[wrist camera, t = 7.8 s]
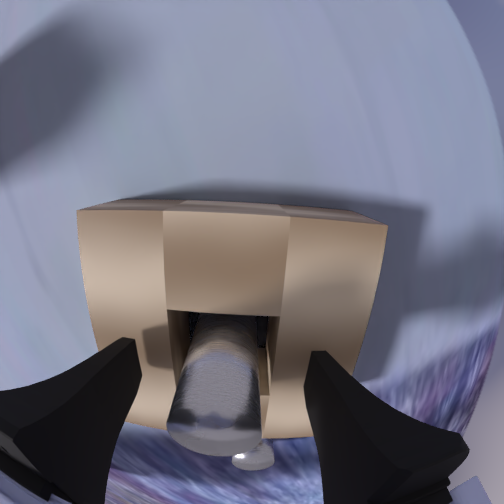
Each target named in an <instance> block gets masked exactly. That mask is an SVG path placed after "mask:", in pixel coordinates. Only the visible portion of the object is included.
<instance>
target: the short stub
mask: <svg viewBox="0 0 504 504" xmlns="http://www.w3.org/2000/svg"><path fill="white" fill-rule="evenodd" d="M232 463H233V465H234V466H236V467H237V468H240V469H243V470H252V471H253V470H262V469H266V468H268V467H270V466H272V465H273V464H274V449H273V438H261V441H260V442H259V444H258V445H257V446H256V447H254V448H253V449H252V450H250V451H248V452H245V453H242V454H239V455H234V456H232Z"/></svg>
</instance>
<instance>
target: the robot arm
mask: <svg viewBox="0 0 504 504" xmlns="http://www.w3.org/2000/svg"><path fill="white" fill-rule="evenodd" d="M141 379H142V371H141V366H140V361H139V357H138V352H137V346H136V341H135V339H132V338H126V337H121V338H119V339H118V340H116V341H114V342H113V343H111V344H110V345H108V346H107V347H105V348H104V349H102V350H101V351H99V352H98V353H96V354H94V355H93V356H91V357H90V358H88V359H87V360H85V361H83V362H81V363H80V364H78V365H76V366H74V367H73V368H71V369H69V370H67V371H65V372H63V373H61V374H59V375H57V376H54V377H52V378H50V379H47V380H44V381H41V382H38V383H35V384H32V385H29V386H25V387H21V388H16V389H11V390H5V391H0V504H104V503H105V493H106V486H107V480H108V474H109V469H110V464H111V460H112V456H113V452H114V448H115V445H116V441H117V438H118V436H119V433H120V431H121V429H122V426H123V424H124V422H125V420H126V417H127V415H128V413H129V411H130V409H131V406H132V404H133V402H134V400H135V398H136V395H137V392H138V389H139V386H140V382H141ZM303 388H304V397H305V404H306V409H307V413H308V417H309V421H310V424H311V428H312V431H313V435H314V439H315V442H316V446H317V450H318V455H319V461H320V468H321V476H322V486H323V499H324V504H492V503H491V501H490V499H489V498H488V496H487V494H486V492H485V490H484V488H483V486H482V484H481V482H480V481H479V479H478V477H477V476H474V477H472V478H471V479H469V480H467V481H466V482H464V483H462V484H461V485H459V486H457V487H456V488H454V489H453V490H451V491H450V492H449V491H448V489H447V486H449V485H450V480H449V478H448V476H449V475H450V474H452V473H453V472H454V471H455V470H456V469H457V467H459V466H460V465H461V464H462V462H463V461H464V460H465V459H466V458H467V456H468V454H469V448H468V446H467V444H466V443H465V441H464V440H463V438H462V437H461V435H460V434H459V433H456V432H452V431H448V430H444V429H440V428H437V427H434V426H431V425H428V424H426V423H423V422H420V421H418V420H416V419H414V418H411V417H409V416H407V415H406V414H404V413H402V412H400V411H398V410H396V409H394V408H393V407H391V406H390V405H388V404H387V403H385V402H383V401H382V400H380V399H379V398H378V397H376V396H375V395H374V394H372V393H371V392H370V391H369V390H367V389H366V388H365V387H364V386H362V385H361V384H360V383H359V382H358V381H357V380H356V379H354V378H353V377H352V376H351V375H350V374H349V373H348V372H347V371H346V370H345V369H344V368H343V367H342V366H341V365H340V364H339V363H338V362H337V361H336V360H335V359H334V358H333V357H332V356H331V355H330V354H329V353H328V352H327V351H326V350H325V351H311V355H310V360H309V364H308V369H307V373H306V377H305V382H304V386H303Z"/></svg>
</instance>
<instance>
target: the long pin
mask: <svg viewBox="0 0 504 504" xmlns="http://www.w3.org/2000/svg"><path fill="white" fill-rule="evenodd" d="M166 427H167V430H168V432H169V434H170V436H171V437H172V438H173V439H174V440H175V441H176V442H177V443H179V444H180V445H182V446H183V447H185V448H187V449H189V450H192V451H194V452H197V453H201V454H205V455H211V456H234V455H239V454H242V453H245V452H248V451H250V450H252V449H253V448H254V447H256V446H257V445H258V444H259V442H260V441H261V438H262V425H261V405H260V385H259V365H258V345H257V325H256V316H255V315H235V314H218V313H204V312H201V313H200V316H199V319H198V322H197V325H196V328H195V331H194V334H193V337H192V340H191V343H190V346H189V350H188V353H187V356H186V359H185V362H184V365H183V369H182V372H181V375H180V378H179V382H178V385H177V388H176V392H175V395H174V398H173V402H172V405H171V408H170V412H169V415H168V419H167V422H166Z"/></svg>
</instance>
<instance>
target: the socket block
mask: <svg viewBox="0 0 504 504" xmlns="http://www.w3.org/2000/svg"><path fill="white" fill-rule="evenodd" d="M77 226H78V239H79V250H80V259H81V267H82V274H83V281H84V287H85V293H86V298H87V304H88V309H89V314H90V318H91V323H92V327H93V331H94V335H95V339H96V343H97V347H98V351H101V350H102V349H104V348H105V347H107V346H108V345H110V344H111V343H113V342H114V341H116V340H118V339H119V338H121V337H126V338H132V339H135V341H136V346H137V352H138V357H139V361H140V366H141V371H142V379H141V382H140V386H139V389H138V392H137V395H136V398H135V400H134V402H133V404H132V406H131V409H130V411H129V413H128V415H127V417H126V420H125V422H129V423H133V424H138V425H142V426H147V427H152V428H157V429H163V430H167V427H166V422H167V419H168V415H169V412H170V408H171V405H172V402H173V398H174V395H175V392H176V388H177V385H178V382H179V378H180V375H181V372H182V369H183V365H184V362H185V359H186V356H187V353H188V350H189V346H190V329H189V311H192V312H204V313H218V314H235V315H255V316H269V317H268V327H267V336H266V346H265V348H258V365H259V385H260V405H261V425H262V438H297V437H312V436H314V435H313V431H312V428H311V424H310V421H309V417H308V413H307V409H306V404H305V397H304V388H303V386H304V382H305V377H306V373H307V369H308V364H309V360H310V355H311V351H325V350H326V351H327V352H328V353H329V354H330V355H331V356H332V357H333V358H334V359H335V360H336V361H337V362H338V363H339V364H340V365H341V366H342V367H343V368H344V369H345V370H346V371H347V372H348V373H349V374H350V375H351V376H352V374H353V371H354V368H355V365H356V362H357V359H358V356H359V352H360V349H361V346H362V343H363V339H364V336H365V332H366V329H367V325H368V321H369V318H370V314H371V310H372V306H373V302H374V298H375V293H376V289H377V284H378V280H379V275H380V270H381V265H382V260H383V254H384V248H385V242H386V236H387V229H388V225H385V224H383V223H381V222H378V221H376V220H373V219H371V218H368V217H366V216H363V215H361V214H358V213H356V212H353V211H347V210H338V209H327V208H316V207H305V206H292V205H279V204H264V203H247V202H227V201H200V200H115V201H111V202H107V203H103V204H99V205H95V206H91V207H87V208H84V209H80V210H77Z"/></svg>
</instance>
